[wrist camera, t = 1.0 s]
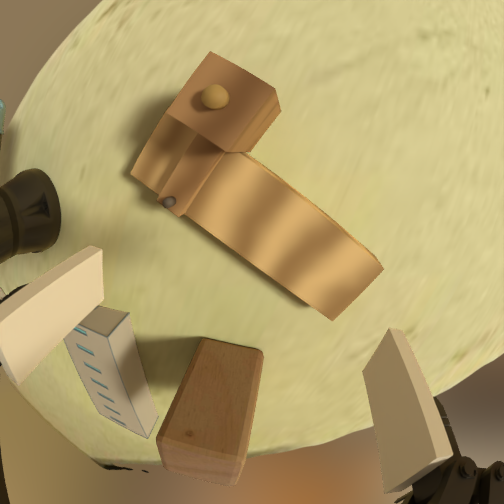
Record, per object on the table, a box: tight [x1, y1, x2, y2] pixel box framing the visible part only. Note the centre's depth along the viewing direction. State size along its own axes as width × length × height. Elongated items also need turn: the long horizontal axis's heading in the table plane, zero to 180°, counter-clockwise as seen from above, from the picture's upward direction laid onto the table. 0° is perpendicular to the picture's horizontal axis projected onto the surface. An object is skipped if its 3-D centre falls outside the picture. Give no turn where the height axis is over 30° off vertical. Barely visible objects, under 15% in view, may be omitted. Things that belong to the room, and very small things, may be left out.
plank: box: [130, 107, 384, 321], centre depth 31 cm, size 30×9×4 cm, turn 54°
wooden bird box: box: [157, 51, 281, 217], centre depth 25 cm, size 6×15×13 cm, turn 144°
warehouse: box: [63, 306, 159, 439], centre depth 45 cm, size 30×14×8 cm, turn 178°
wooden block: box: [156, 339, 264, 486], centre depth 33 cm, size 10×10×20 cm
